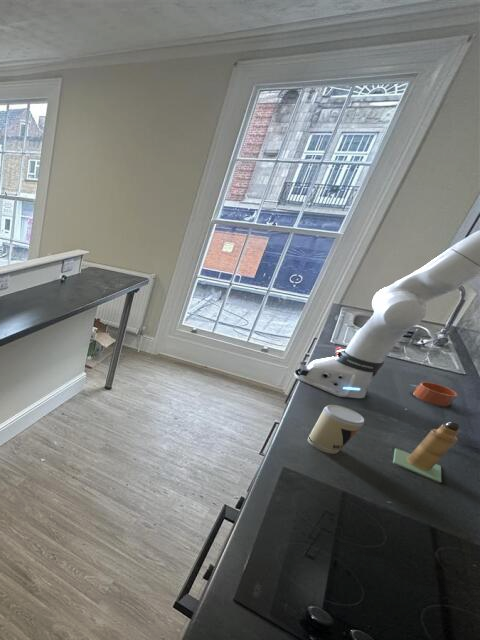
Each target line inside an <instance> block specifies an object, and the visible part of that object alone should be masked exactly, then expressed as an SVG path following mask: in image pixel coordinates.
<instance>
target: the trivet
mask: <svg viewBox="0 0 480 640" xmlns="http://www.w3.org/2000/svg"><path fill="white" fill-rule="evenodd" d="M410 454H411V453H409V452H407V451H404V450H402V449H399V448H397V447H396V448H394V453H393V460H392V464H393V465H396V466H398V467H400V468H402V469H405V470H408V471H410V472H413V473H414V474H418V475H420V476H422V477H424V478H427V479H430V480H431V481H434V482H436V483H439V484H441V483H442V482H443V481H442V466H441V465H440V464H438V463H436V464H435V465H434V466H433V467H432V469H431V470H422V469H419V468H417V467H415V466H413V465H411V464H410V463H409V462H408V461H407V458H408V457H409V456H410Z"/></svg>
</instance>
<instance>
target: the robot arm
mask: <svg viewBox="0 0 480 640" xmlns="http://www.w3.org/2000/svg"><path fill="white" fill-rule="evenodd" d="M478 276H480V229H479V230H477V231H475V232H473V233H471V234H470V235H468V236H466V237H465V238H463V239H462V240H460V241H458V242H456V243H455V244H453V245H452V246H451V247H450V248H447V249H446V250H445V251H443V252H441V254H439V255H438V256H437V257H435V258H433V259H432V260H431V261H429V262H427V263H426V264H425V265H423V266H422V267H421V268H419V269H416V270H415V271H413V272H412V273H410V274H408V275H406V276H404V277H402V278H401V279H399V280H396V281H395V282H394V283H392V284H390V285H388V286H385V287H383V288H382V289H379V290H378V291H377V292H376V293H375V294H374V296H373V298H372V301H371V308H372V310H373V314H372V315H371V317H370V318H369V319H368V320H367V321H366V323H365V324H364V325H362V327H361V328H360V329H358V330H357V331H356V332H355V334H354V336H352V338H351V340H350V341H349V343H348V344H347V346H346V348H344V349H343V347H342V346H338V347H336V348H335V350H334V351H335V353H334V354H333V356H330V357H323V358H318V359H314V360H312V361H310V362H309V363H308V364H307V365H302V364H300V365H299V367H298V368H297V369H296V370H295V371H294V373H293V376H294V378H296V380H298V381H300V382H302V383H306V384H308V385H311V386H312V387H315V388H317V389H319V390H322V391H324V392H327V393H329V394H331V395H334V396H336V397H339V398H352V399H364V398H366V396H367V391H368V389H369V386H370V384H371V382H372V380H373V378H374V377H375V376H376V375H377V374H378V373H379V372H380V370H381V369H382V368H383V366H384V363H385V360H386V358H387V357H388V356H389V354H390V353H391V351H392V350H393V349H394V347H395V346H396V345H397V343H398V342H399V341H400V340H401V339H403V337H405V335H406V334H407V333H408V332H409V331H411V330H412V328H413V327H414V326H416V325H418V324H420V323H421V322H422V321H423V319H424V318H425V316H426V313H427V305H426V303H428V302H429V301H432V300H434V299H436V298H438V297H440V296H443V295H445V294H448V293H451V292H455V291H456V290H458V289H460V288H461V287H463V286H464V285H466V284H467V283H469V282H470V281H472V280H473V279H475V278H477V277H478Z"/></svg>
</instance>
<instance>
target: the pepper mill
mask: <svg viewBox="0 0 480 640" xmlns="http://www.w3.org/2000/svg"><path fill="white" fill-rule="evenodd" d="M460 428H461V427H460V424H459V423H457V422H455V421H448V422H446V423H442V424H441V425H440V426H439V427H438V428H432V429H431V430H430V431H429V433H428V434H427V435H426V436H425V437H424V438H423V439H422V441H421V442H420V443H419V444H418V445H417V446H416V447H415V449H413V451H411V453H410V456H409V457H408V458H407V461H408V462H409V463H410V464H411V465H413V466H415V467H417V468H419V469H422V470H431V469H432V467H433V466H434V465H435V464H438V463H439V461H440V460H441V459H443V457H444V456H445V455H446V454H447V453H448V451H450V450H451V448H452V447H453V446H454V445H456V443H457V442H458V441H459V439H458V438H457V436H458V435H459V434H460V433H461V430H460Z"/></svg>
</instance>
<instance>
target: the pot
mask: <svg viewBox="0 0 480 640" xmlns="http://www.w3.org/2000/svg"><path fill="white" fill-rule="evenodd" d="M412 394H413V395H414V396H415V397H416V398H418V399H420V400H421V401H424V402H426V403H429V404H432V405H436V406H440V407H449V406H450V405H451V404H452V402H453V401H454V400H455V399H456V398H457V397H458V396H459V394H458V393H457V392H456V391H455V390H453V389H451V388H449V387H446V386H444V385H441V384H438V383H433V382H430V381H421V382H420V383H419V384H418V386H417V387H416V388H415V390H413V391H412Z"/></svg>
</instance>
